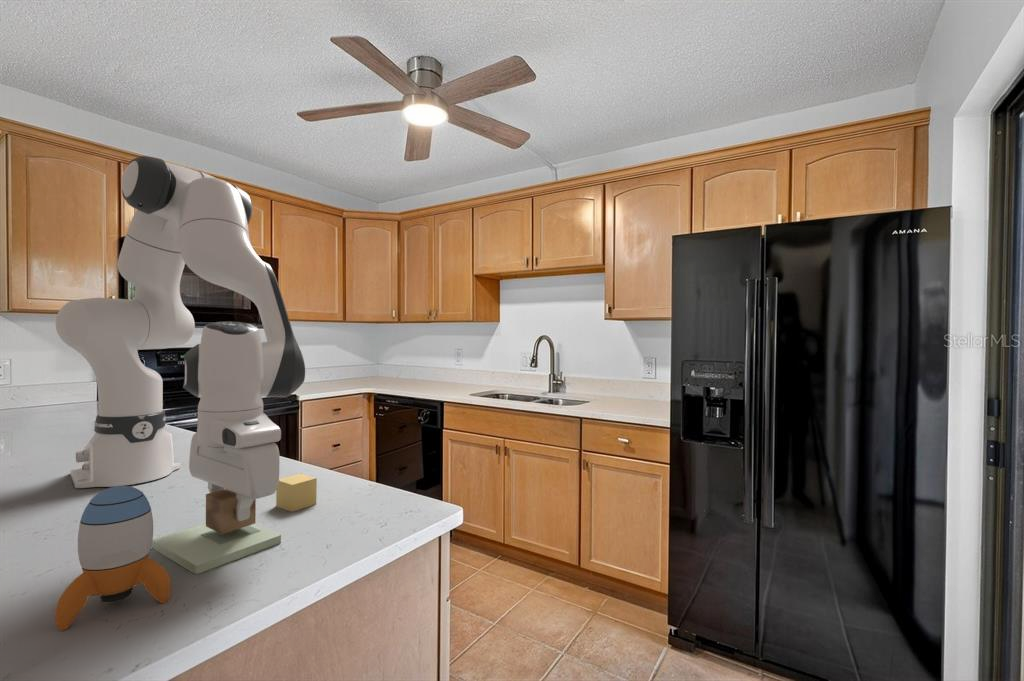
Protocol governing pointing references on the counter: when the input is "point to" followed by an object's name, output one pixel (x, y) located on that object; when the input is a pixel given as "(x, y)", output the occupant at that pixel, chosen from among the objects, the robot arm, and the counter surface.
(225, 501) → the walnut block
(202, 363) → the robot arm
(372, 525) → the counter surface
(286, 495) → the ochre block
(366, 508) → the counter surface
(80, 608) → the toy rocket
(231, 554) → the plate
